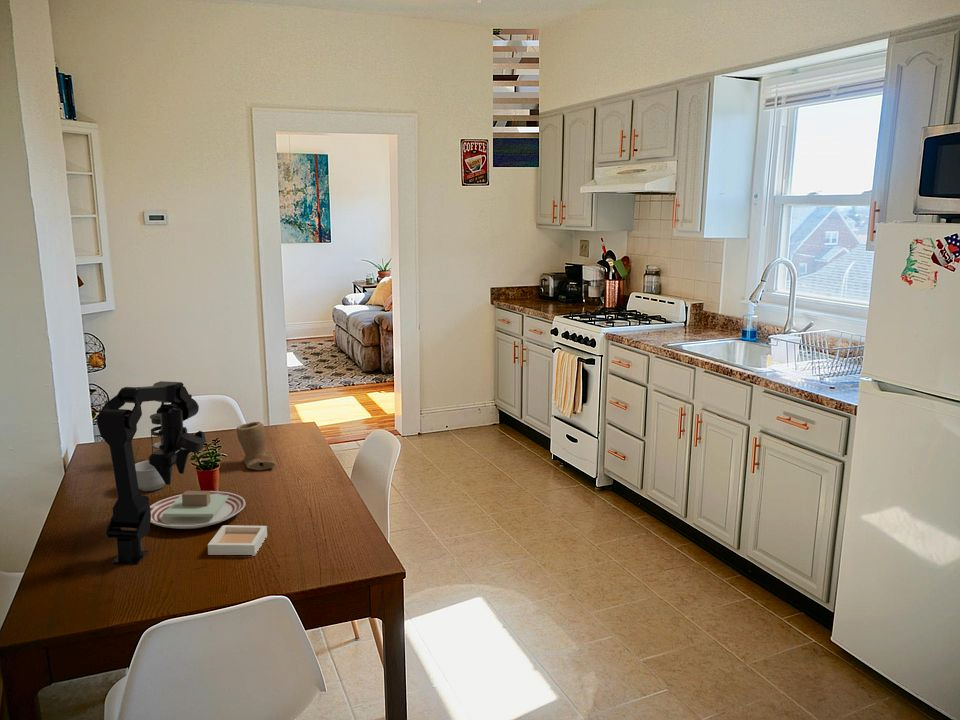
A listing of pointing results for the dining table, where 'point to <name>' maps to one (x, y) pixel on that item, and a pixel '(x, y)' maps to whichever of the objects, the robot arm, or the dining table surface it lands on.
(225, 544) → the dish
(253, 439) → the beige boot
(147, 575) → the dining table surface
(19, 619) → the dining table surface
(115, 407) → the robot arm
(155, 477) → the teacup
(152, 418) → the french press
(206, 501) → the cover
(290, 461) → the dining table surface
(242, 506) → the dinner plate
